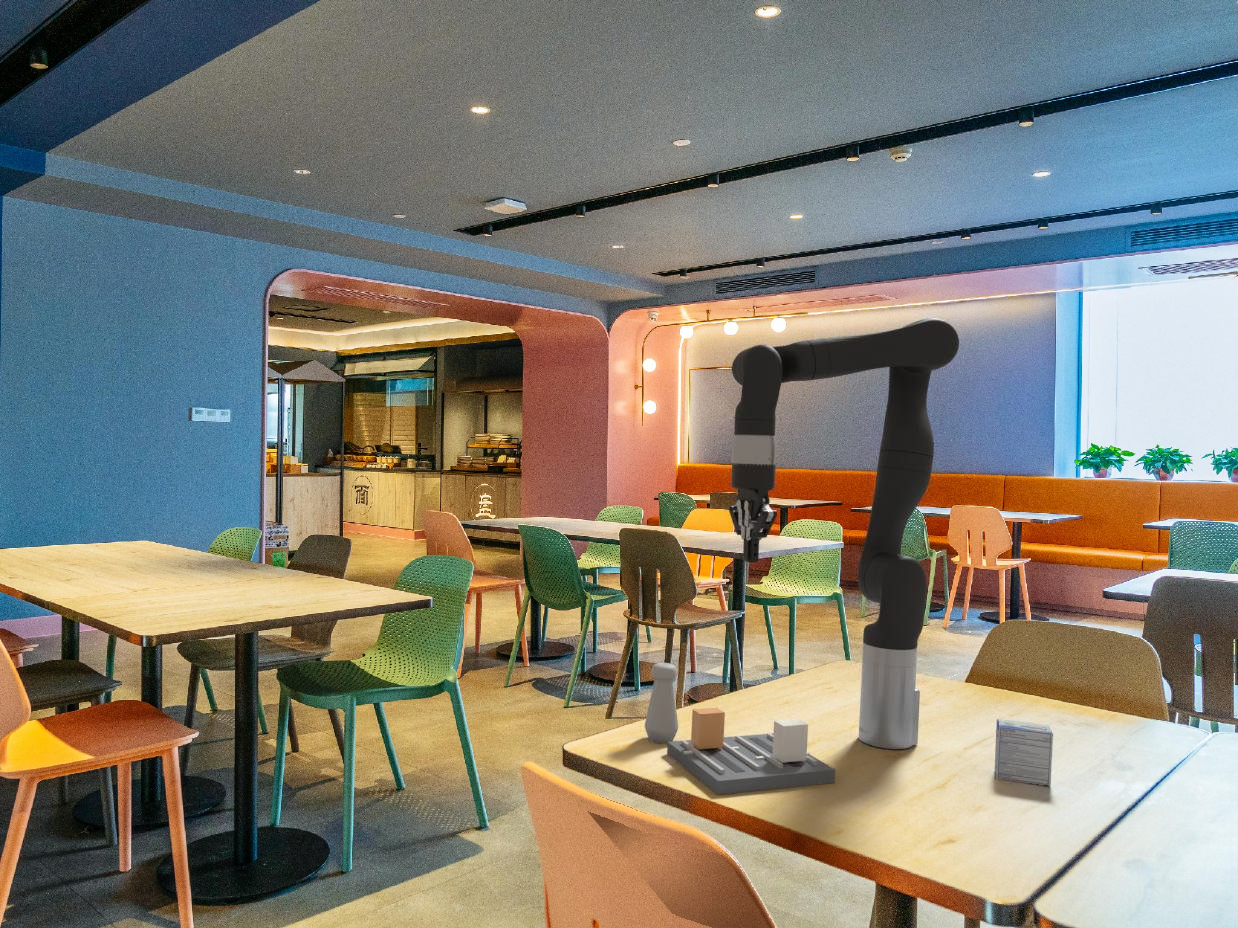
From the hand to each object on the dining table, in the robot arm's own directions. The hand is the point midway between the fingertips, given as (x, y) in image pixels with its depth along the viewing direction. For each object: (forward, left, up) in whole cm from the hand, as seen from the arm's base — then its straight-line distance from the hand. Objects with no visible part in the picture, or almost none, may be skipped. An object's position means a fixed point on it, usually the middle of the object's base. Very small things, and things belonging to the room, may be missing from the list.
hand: (750, 561), depth 152 cm
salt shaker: (+14, -4, -31) cm, 34 cm away
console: (+6, +12, -31) cm, 34 cm away
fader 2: (+1, +16, -29) cm, 33 cm away
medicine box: (-35, +27, -31) cm, 55 cm away
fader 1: (+11, +8, -29) cm, 32 cm away
